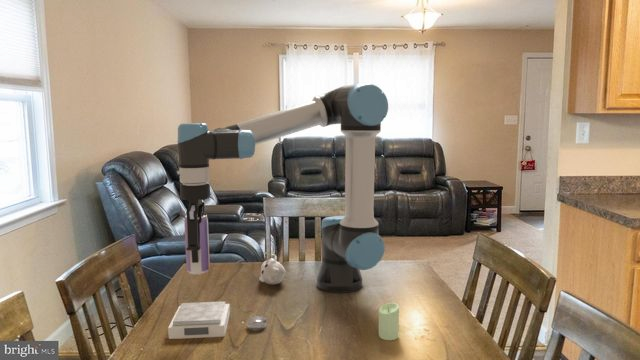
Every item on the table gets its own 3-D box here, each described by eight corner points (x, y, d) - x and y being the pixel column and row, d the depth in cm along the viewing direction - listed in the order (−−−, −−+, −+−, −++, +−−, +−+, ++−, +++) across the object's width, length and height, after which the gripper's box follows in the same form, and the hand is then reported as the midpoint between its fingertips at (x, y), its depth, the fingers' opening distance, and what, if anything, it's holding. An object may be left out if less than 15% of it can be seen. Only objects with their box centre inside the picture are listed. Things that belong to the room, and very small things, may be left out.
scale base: (230, 313, 137) (229, 303, 137) (224, 336, 123) (224, 325, 123) (179, 315, 136) (179, 305, 136) (168, 339, 122) (167, 328, 122)
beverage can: (203, 275, 124) (201, 218, 122) (182, 273, 125) (179, 217, 123) (213, 267, 130) (211, 213, 128) (193, 266, 131) (190, 212, 129)
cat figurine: (267, 248, 169) (271, 256, 154) (287, 259, 170) (293, 267, 156) (254, 272, 168) (256, 282, 154) (274, 283, 170) (278, 293, 155)
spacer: (266, 322, 132) (266, 315, 131) (266, 331, 127) (265, 323, 126) (247, 323, 131) (247, 316, 131) (246, 332, 126) (246, 324, 126)
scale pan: (225, 304, 136) (225, 301, 135) (220, 323, 124) (220, 319, 124) (182, 306, 135) (182, 303, 134) (173, 325, 123) (172, 321, 123)
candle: (385, 342, 120) (385, 310, 119) (375, 333, 124) (375, 303, 123) (402, 338, 122) (402, 307, 121) (391, 330, 126) (392, 300, 125)
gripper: (186, 178, 133) (190, 259, 136) (172, 189, 115) (176, 282, 118) (214, 178, 134) (217, 258, 137) (204, 188, 115) (207, 281, 118)
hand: (198, 269), depth 127 cm, fingers closed on beverage can, 6 cm apart
